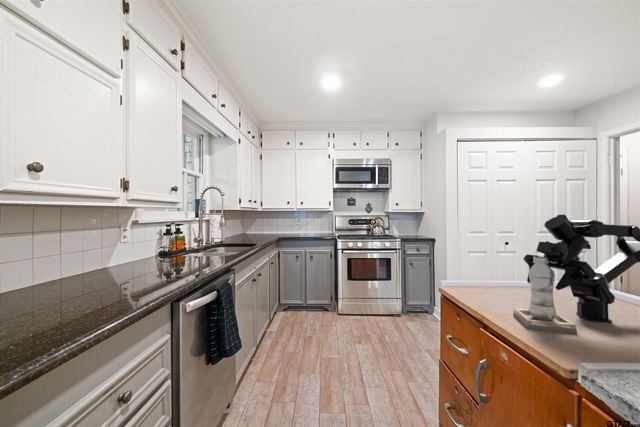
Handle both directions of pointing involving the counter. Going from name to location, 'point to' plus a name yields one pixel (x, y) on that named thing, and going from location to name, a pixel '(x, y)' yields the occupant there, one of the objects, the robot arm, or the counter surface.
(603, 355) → the counter surface
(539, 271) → the plastic bottle
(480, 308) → the counter surface
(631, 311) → the counter surface
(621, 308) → the counter surface
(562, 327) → the beige flat square frame
